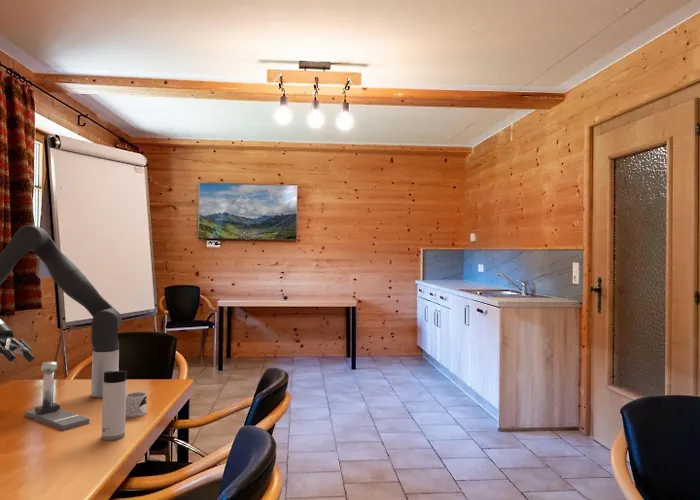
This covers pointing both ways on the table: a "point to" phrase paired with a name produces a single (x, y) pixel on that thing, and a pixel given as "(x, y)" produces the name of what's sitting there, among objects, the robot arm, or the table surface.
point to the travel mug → (114, 405)
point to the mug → (136, 404)
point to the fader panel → (59, 418)
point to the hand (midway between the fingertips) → (23, 359)
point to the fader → (48, 388)
